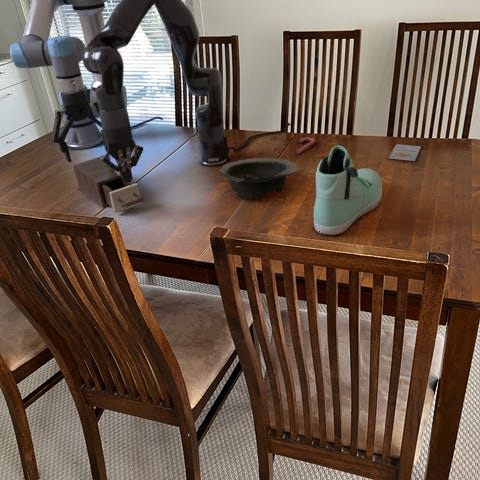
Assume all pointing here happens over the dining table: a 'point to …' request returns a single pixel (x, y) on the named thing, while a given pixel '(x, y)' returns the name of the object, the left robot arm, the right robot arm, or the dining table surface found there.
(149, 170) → the dining table surface
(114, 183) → the drawer
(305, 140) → the candy cane
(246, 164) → the stone bowl
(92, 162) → the cabinet
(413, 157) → the baking ingredient package
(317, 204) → the sneaker
